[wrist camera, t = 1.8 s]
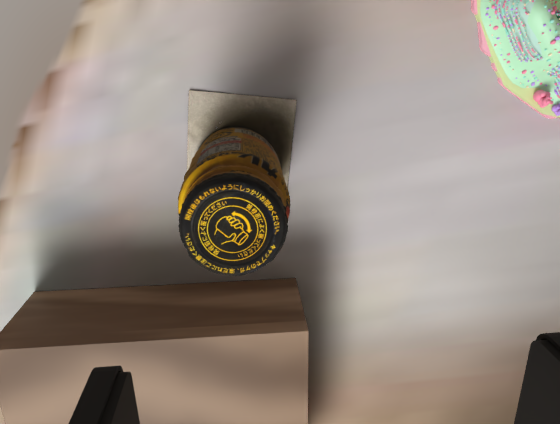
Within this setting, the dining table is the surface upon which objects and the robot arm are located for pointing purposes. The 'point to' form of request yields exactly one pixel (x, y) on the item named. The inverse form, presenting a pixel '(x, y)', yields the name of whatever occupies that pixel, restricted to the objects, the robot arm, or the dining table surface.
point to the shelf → (162, 352)
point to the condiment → (236, 180)
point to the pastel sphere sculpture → (523, 48)
